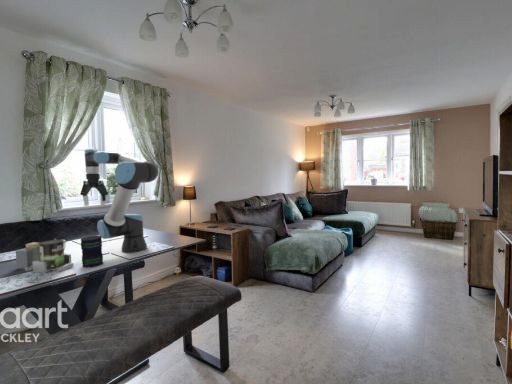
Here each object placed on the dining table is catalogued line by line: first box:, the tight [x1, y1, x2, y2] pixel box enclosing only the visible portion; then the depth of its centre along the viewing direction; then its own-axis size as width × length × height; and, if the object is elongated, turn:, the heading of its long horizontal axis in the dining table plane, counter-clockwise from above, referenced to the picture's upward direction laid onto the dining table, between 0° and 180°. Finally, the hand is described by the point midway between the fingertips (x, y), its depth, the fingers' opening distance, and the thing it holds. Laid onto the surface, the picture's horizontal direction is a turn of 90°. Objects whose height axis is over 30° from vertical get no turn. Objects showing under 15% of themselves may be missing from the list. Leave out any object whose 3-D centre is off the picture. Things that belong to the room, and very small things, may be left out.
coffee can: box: [38, 239, 66, 272], centre depth 144 cm, size 10×10×14 cm
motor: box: [15, 241, 74, 274], centre depth 146 cm, size 14×29×12 cm, turn 74°
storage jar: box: [80, 235, 104, 269], centre depth 148 cm, size 10×10×15 cm
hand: (94, 205), depth 178 cm, fingers open, 13 cm apart
